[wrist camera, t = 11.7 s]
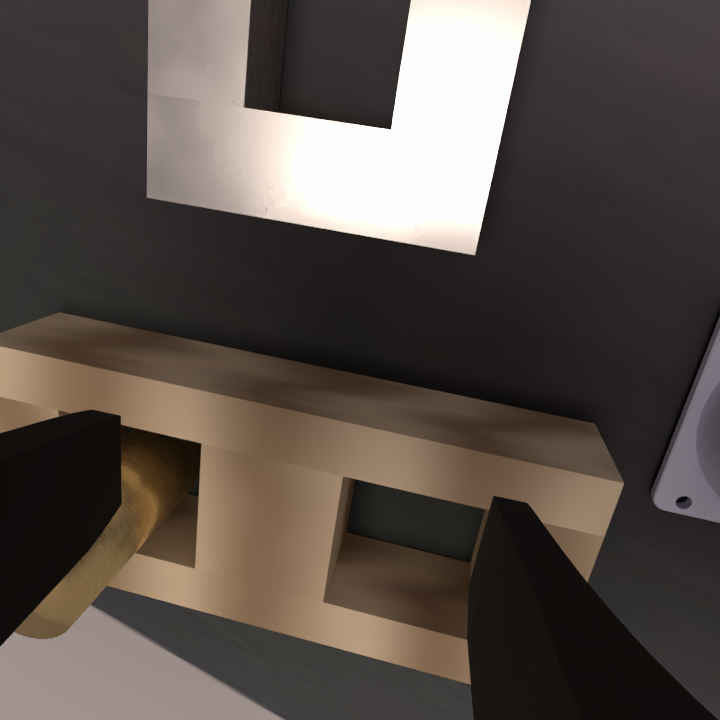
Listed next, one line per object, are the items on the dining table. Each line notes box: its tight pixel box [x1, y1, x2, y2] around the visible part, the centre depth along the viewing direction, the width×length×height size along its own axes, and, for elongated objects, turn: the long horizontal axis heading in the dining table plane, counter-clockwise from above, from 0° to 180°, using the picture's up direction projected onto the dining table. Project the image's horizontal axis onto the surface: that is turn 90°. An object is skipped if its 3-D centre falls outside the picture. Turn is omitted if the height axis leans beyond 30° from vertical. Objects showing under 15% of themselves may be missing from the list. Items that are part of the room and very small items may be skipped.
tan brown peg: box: [14, 428, 201, 639], centre depth 19 cm, size 3×3×9 cm
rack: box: [0, 312, 624, 684], centre depth 21 cm, size 21×9×4 cm, turn 82°
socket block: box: [147, 0, 531, 255], centre depth 16 cm, size 10×10×3 cm
